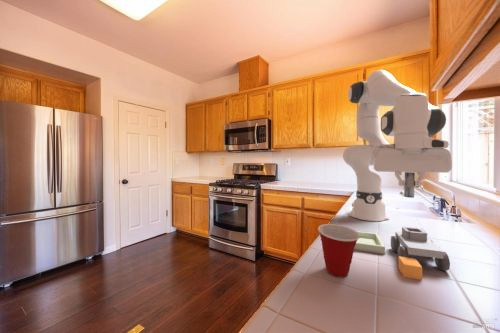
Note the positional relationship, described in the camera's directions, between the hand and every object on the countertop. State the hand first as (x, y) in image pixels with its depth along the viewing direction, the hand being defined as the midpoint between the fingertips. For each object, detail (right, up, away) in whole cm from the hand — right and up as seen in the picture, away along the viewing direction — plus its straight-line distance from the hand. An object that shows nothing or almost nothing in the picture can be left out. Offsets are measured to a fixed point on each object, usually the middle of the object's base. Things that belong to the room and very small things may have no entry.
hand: (409, 185), depth 68 cm
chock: (-8, -23, -11) cm, 27 cm away
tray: (-10, -23, +9) cm, 26 cm away
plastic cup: (-28, -24, -10) cm, 37 cm away
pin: (0, -4, 0) cm, 4 cm away
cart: (0, -23, -3) cm, 23 cm away
